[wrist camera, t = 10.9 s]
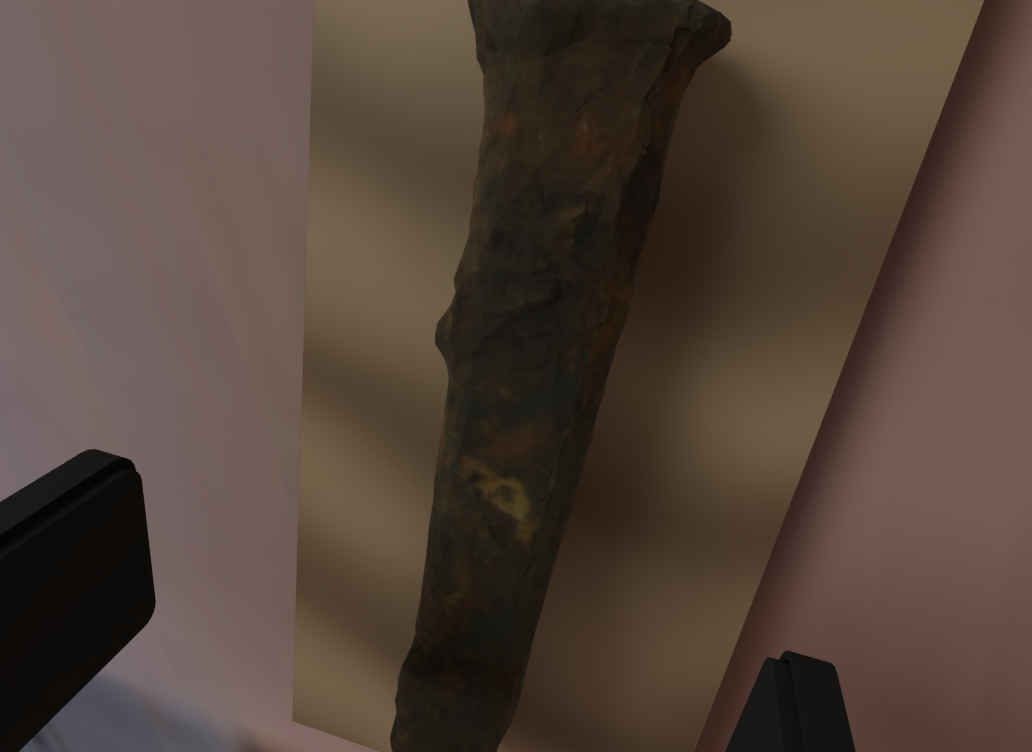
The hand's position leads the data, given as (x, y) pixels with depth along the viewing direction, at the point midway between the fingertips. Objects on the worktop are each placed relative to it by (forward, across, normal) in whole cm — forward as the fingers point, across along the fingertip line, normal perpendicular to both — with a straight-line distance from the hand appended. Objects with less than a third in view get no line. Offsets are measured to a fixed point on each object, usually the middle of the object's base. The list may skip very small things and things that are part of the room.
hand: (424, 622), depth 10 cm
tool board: (+8, 0, +1) cm, 8 cm away
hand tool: (+7, -1, +1) cm, 7 cm away
